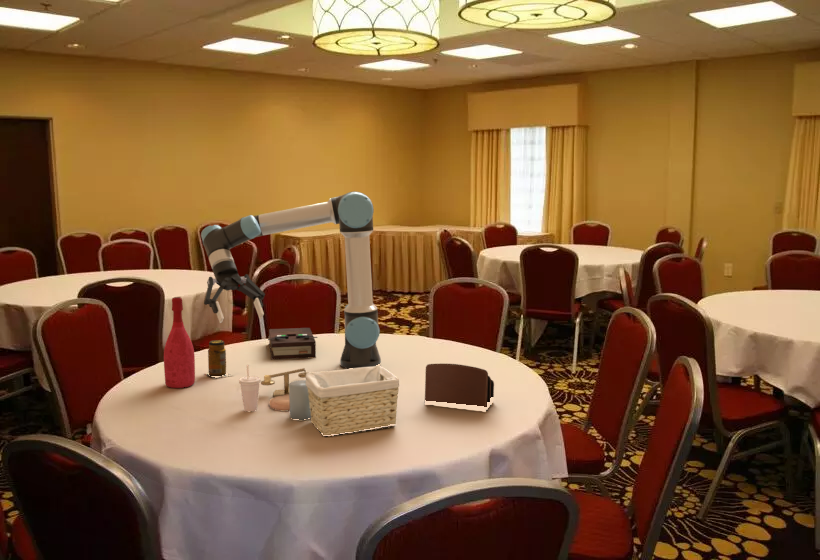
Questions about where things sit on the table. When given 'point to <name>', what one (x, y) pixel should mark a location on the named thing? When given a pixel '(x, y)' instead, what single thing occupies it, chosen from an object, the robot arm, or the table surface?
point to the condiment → (217, 359)
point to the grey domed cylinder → (299, 400)
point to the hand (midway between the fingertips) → (242, 318)
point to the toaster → (458, 384)
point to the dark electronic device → (292, 343)
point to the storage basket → (352, 399)
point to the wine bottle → (178, 352)
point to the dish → (280, 403)
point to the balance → (286, 381)
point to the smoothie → (249, 391)
